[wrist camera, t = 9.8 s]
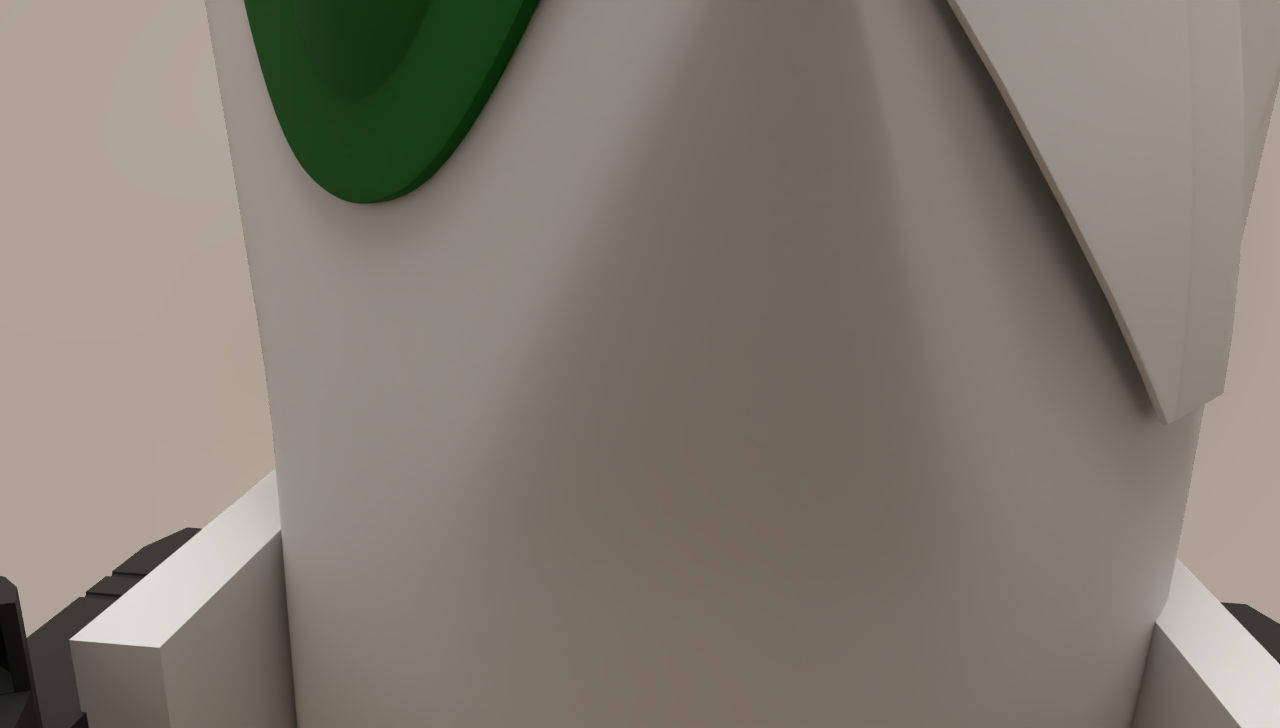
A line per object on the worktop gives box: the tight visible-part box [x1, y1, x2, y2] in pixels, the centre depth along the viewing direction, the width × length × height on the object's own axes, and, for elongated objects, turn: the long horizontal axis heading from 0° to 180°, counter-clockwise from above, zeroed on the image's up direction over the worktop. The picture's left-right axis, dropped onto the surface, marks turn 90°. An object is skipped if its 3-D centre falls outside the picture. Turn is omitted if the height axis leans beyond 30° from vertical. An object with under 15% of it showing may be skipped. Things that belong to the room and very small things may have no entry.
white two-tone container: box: [205, 0, 1280, 728], centre depth 11 cm, size 9×9×20 cm
